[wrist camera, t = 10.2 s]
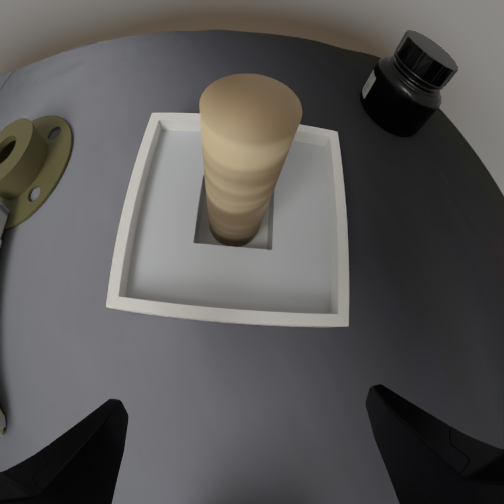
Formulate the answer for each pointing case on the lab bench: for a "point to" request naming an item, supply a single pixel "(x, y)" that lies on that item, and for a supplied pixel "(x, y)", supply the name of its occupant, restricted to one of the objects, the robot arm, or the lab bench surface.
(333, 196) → the box
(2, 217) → the light grey piece
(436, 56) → the ink bottle
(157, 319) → the lab bench surface
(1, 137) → the flange
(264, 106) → the peg
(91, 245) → the lab bench surface
